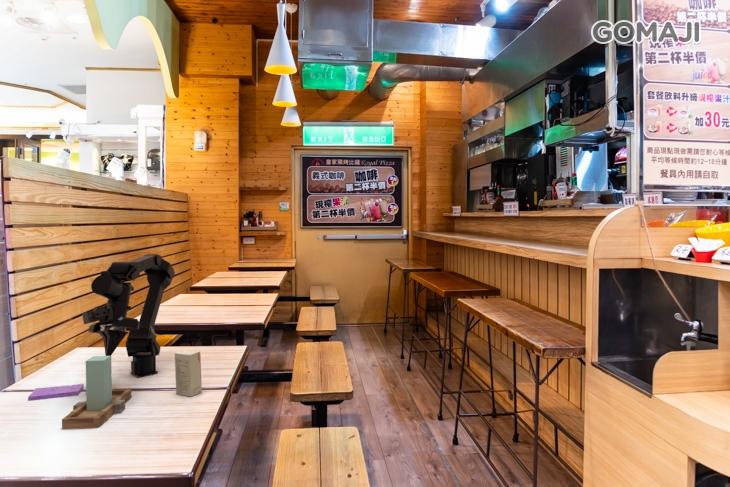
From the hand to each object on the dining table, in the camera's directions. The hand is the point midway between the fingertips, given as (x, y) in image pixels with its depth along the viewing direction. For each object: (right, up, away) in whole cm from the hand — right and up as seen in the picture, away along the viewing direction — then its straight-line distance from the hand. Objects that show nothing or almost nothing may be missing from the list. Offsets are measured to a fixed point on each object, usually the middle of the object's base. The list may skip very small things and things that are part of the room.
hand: (108, 356), depth 132 cm
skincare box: (+22, -12, +3) cm, 25 cm away
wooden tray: (+4, -12, -10) cm, 16 cm away
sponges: (-16, -12, +3) cm, 21 cm away
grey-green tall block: (+4, -11, -10) cm, 15 cm away
